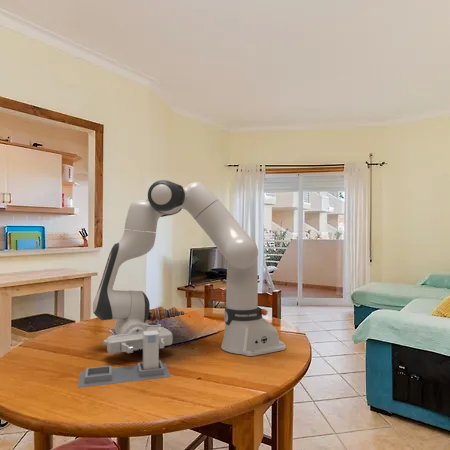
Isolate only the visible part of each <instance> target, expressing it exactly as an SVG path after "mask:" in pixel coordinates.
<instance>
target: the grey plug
mask: <svg viewBox="0 0 450 450" xmlns="http://www.w3.org/2000/svg"><path fill="white" fill-rule="evenodd" d="M159 353H160V349H159V333H158V331H157V330H155V331H143V349H142V362H143V370H150V369H158V368H159V361H160V360H159V359H160V356H159Z"/></svg>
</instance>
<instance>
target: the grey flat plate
mask: <svg viewBox="0 0 450 450" xmlns="http://www.w3.org/2000/svg"><path fill="white" fill-rule="evenodd" d="M165 378H172V376H171V373H170V371H169V369H168V367H167V364H166V362H162V360H159V368H158V369H150V370H143V361H142V362H137V365H133V366H132V365H131V366H122V367H121V366H120V367H113V368H112V365H103V366H94V367H93V366H92V367H86V368H85V370H82V371H80V372H79V376H78V382H77V383H78V384H77V389H81V388H89V387H95V386H97V387H99V386H104V385H114V384H123V383H131V382H140V381H148V380H157V379H165Z"/></svg>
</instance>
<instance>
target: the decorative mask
mask: <svg viewBox="0 0 450 450" xmlns="http://www.w3.org/2000/svg"><path fill="white" fill-rule="evenodd" d="M184 314H187V313H186V312H185V311H183V310H180V311H179V310H178V309H177V308H176V307H175V306H173V307H171V308H169V309H166V308H164V307H163V306H159V307H156V308H151V309H150V310H149V316H148V318H147V320H146V322H145V323H149V322H154V321H158V320H162V319H167V318H170V317H175V316H179V315H184Z"/></svg>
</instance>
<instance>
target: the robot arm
mask: <svg viewBox="0 0 450 450" xmlns="http://www.w3.org/2000/svg"><path fill="white" fill-rule="evenodd" d="M182 209H183V210H185V211H186V212H188V213H189V214H190V216H191V217H192V218H193V220H195V221H196V223H197V224H198V225H199V226H200V228H201V229H202V230H203V231H204V232H205V233H206V235H207V236H208V237H209V239H210V240H211V241H212V243H213V244H214V245H215V247H216V248H217V249H218V251H219V252H220V254H221V255H222V257H223V258H225V260H226V261H227V266H226V282H225V284H226V289H225V290H226V291H225V296H226V297H225V303H226V304H225V307H224V318H223V319H224V323H225V324H224V331H223V338H222V342H221V345H220V347H221V349H222V350H223V351H225V352H227V353H231V354H238V355H244V356H247V357H255V356H260V355H265V354H270V353H276V352H279V351H280V352H281V351H285V350H286V344H285V342H284V341H282V340H280V337H279V333H278V330H277V328H276V326H274V325H273V324H271V323H270V322H269V321H267V320H266V319H265V318H264V317H263V316H267V315H268V310H267V309H265V308H261V307H260V306H258V304H259V303H258V302H259V301H258V297H259V296H258V294H259V287H258V286H259V285H258V284H259V281H258V279H259V278H258V277H259V276H258V275H259V272H258V271H259V270H258V269H259V268H258V266H259V265H258V260H259V249H258V245H257V243H256V242H255V241H254V239H252V237H251V236H250V235H249V234H248V233H247V232H246V230H245V229H244V228H243V227H242V225H240V223H239V222H238V220H237V219H235V217H234V216H233V215H232V214H231V212H230V211H229V210H228V209H227V207H226V206H225V205H224V204H223V203H222V202H221V201H220V199H219V198H218V197H217V196H216V195H215V193H213V191H211V190H210V189H209V188H208V187H206V185H204V184H203V183H202V182H199V181H193V182H191V183H189V184H187V185H186V186H184V187H183V185H181V184H179V183H175V182H173V181H170V180H168V179H167V180H165V179H161V180H157V181H155V182H153V183H152V184H151V185H150V187H149V188H148V191H147V199H137V200H134V201H132V202H131V203H130V206H129V208H128V211H127V213H126V214H127V215H126V218H125V223H124V229H123V230H124V231H123V235H122V237H121V239H120V240H119V242H117V243H114V244H113V246H112V247H111V248H110V249H111V250H110V252H109V255H108V257H107V261H106V264H105V267H104V270H103V273H102V277H101V280H100V283H99V287H98V288H97V289H98V290H97V291H96V294H95V297H94V299H93V304H92V312H93V314H94V315H95V317H97V318H98V319H99V320H101V321H110V320H111V321H112V320H115V322H114V332H115V334H113V335H109V336H108V337H107V338H106V339H103V344H104V345H106V350H107V353H108V354H118V353H126V354H132V353H134V351H135V352H137V351H139V349H140V350H143V331H155V330H157V331H158V333H159V350H160V349H164V348H165V346H171V345H172V344H173V338H174V336H173V332H172V331H171V330H170V329H166V328H164V327H161V324H159V323H145V322H146V320H147V318H148V316H149V310H151V309H150V305H151V304H150V300H149V298H148V296H147V294H145V292H144V291H142V290H118V289H117V290H114V285H115V282H116V279H117V275H118V271H119V268H120V267H121V266H122V264H123V263H125V262H127V261H129V260H132V259H133V260H134V259H135V258H140V257H143V256H144V255H146V254H149V252H150V251H151V250H153V248H154V246H155V241H156V238H157V229H158V222H159V219H160V218H163V217H169V216H173V215H177V214H178V213H180V212H181V211H182Z"/></svg>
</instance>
